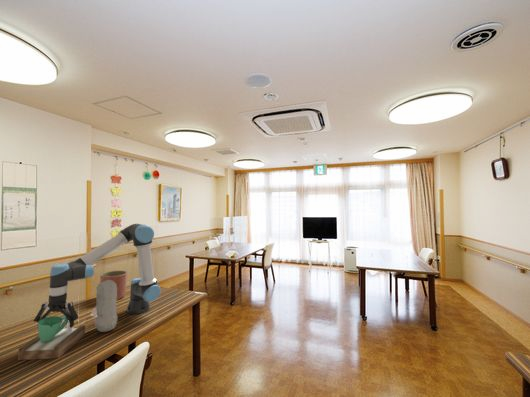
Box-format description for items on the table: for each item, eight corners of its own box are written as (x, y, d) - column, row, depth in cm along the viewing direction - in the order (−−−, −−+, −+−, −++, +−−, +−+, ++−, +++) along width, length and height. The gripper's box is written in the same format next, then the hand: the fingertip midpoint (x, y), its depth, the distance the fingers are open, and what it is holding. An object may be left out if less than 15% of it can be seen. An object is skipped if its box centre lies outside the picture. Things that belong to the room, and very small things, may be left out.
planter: (106, 293, 208) (108, 270, 209) (129, 293, 210) (131, 270, 211) (93, 302, 190) (95, 276, 190) (119, 302, 192) (120, 276, 192)
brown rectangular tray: (84, 334, 142) (85, 325, 143) (58, 357, 121) (59, 346, 121) (50, 336, 140) (51, 326, 140) (17, 360, 118) (18, 348, 118)
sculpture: (123, 326, 154) (126, 278, 155) (109, 335, 142) (112, 284, 144) (101, 324, 156) (104, 277, 157) (86, 333, 144) (89, 282, 145)
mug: (43, 347, 122) (48, 327, 123) (28, 341, 124) (33, 321, 125) (71, 333, 137) (75, 315, 137) (58, 328, 139) (61, 311, 139)
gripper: (87, 291, 137) (84, 329, 136) (37, 291, 133) (35, 331, 132) (79, 295, 129) (76, 336, 129) (26, 296, 126) (23, 338, 125)
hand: (55, 333), depth 130 cm, fingers open, 13 cm apart
